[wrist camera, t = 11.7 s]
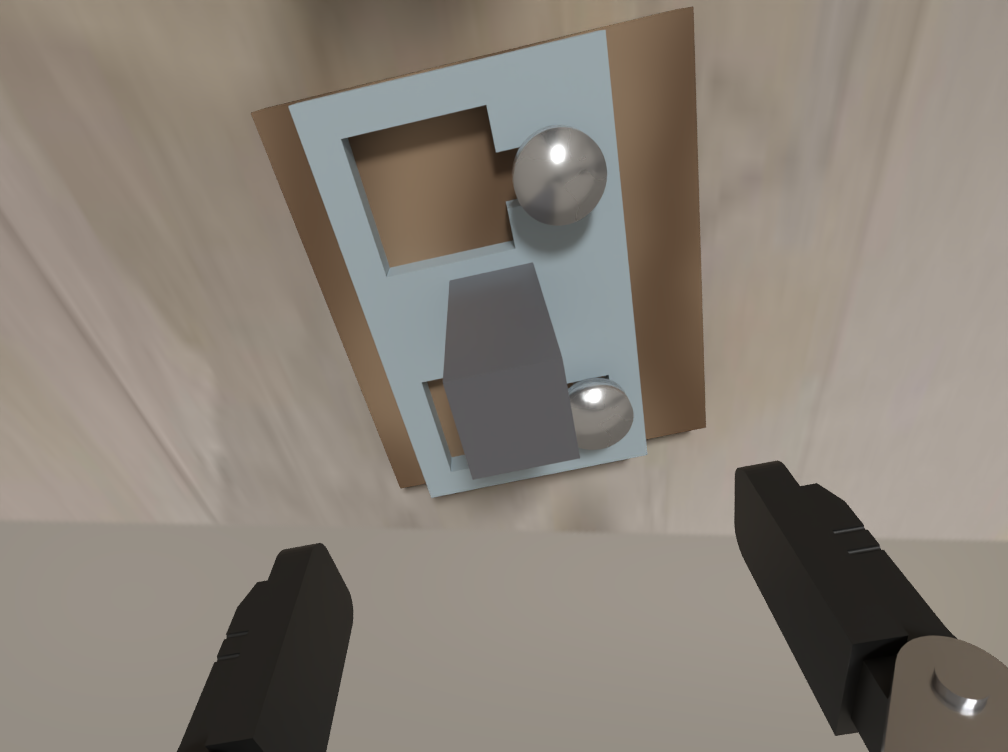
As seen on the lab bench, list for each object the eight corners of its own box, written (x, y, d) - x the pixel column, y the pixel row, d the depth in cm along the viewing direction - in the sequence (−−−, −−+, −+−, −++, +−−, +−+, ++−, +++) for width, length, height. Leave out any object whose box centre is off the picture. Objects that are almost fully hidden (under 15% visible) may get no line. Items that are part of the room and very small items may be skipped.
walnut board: (677, 8, 18) (727, 1, 15) (694, 408, 27) (729, 464, 23) (265, 108, 19) (219, 122, 16) (403, 467, 27) (394, 530, 24)
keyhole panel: (598, 30, 17) (686, 22, 10) (641, 440, 25) (706, 588, 19) (296, 103, 18) (190, 140, 11) (432, 482, 26) (420, 642, 19)
